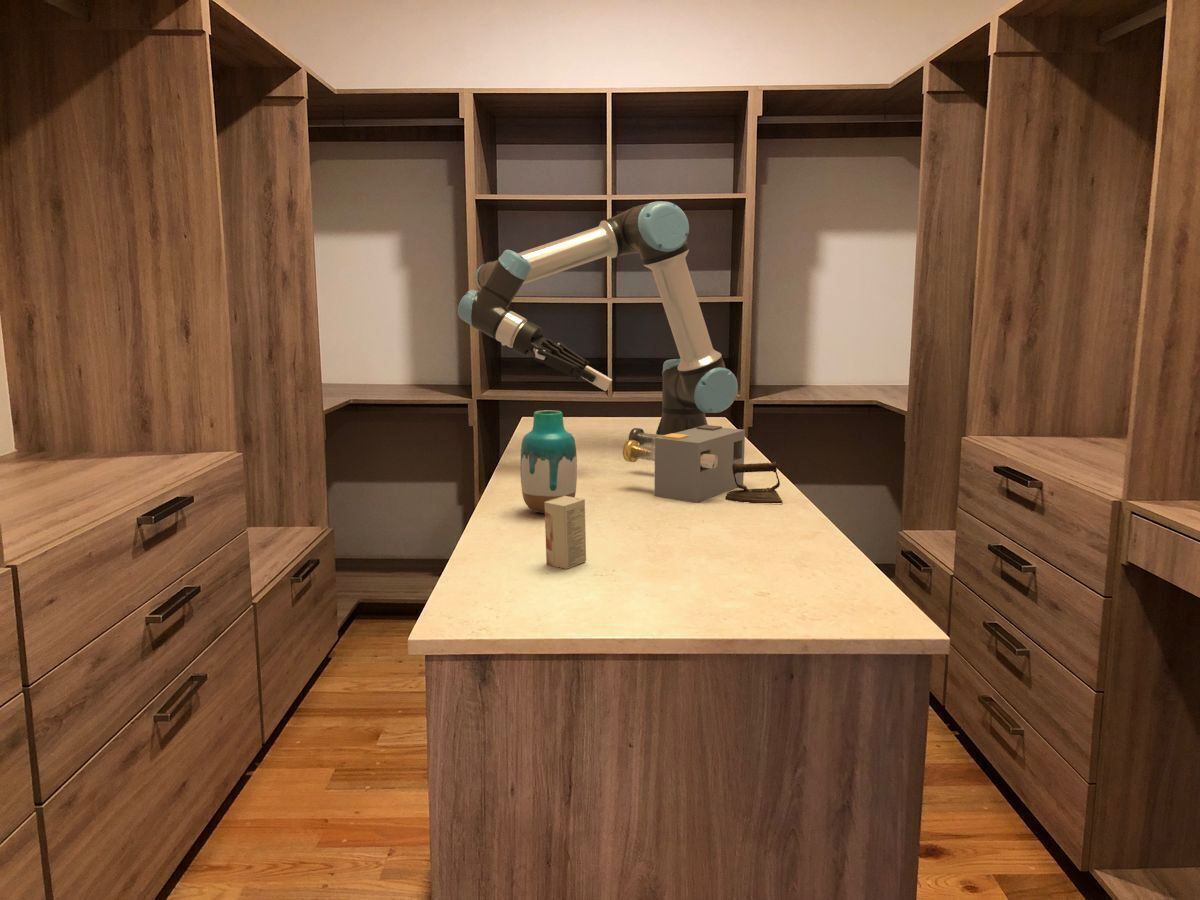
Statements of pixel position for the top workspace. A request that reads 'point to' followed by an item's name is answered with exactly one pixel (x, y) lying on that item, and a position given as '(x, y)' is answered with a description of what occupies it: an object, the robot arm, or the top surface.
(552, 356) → the robot arm
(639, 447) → the plunger ochre
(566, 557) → the skincare box
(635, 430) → the plunger grey
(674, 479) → the console
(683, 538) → the top surface
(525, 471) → the vase
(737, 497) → the clothes iron
